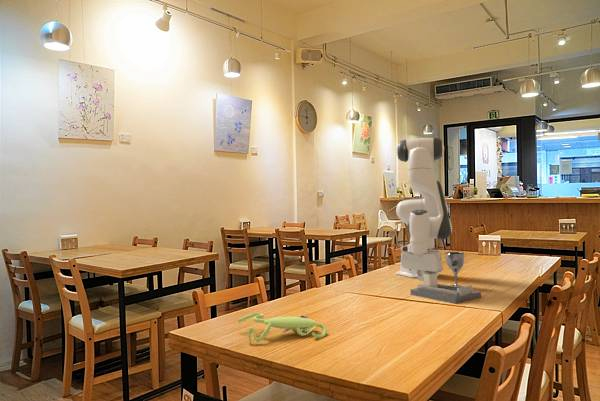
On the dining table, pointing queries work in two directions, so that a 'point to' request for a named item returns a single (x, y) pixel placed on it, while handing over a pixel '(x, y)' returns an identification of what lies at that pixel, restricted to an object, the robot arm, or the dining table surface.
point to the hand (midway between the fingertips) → (421, 280)
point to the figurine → (284, 325)
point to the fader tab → (430, 279)
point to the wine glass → (455, 263)
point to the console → (446, 293)
